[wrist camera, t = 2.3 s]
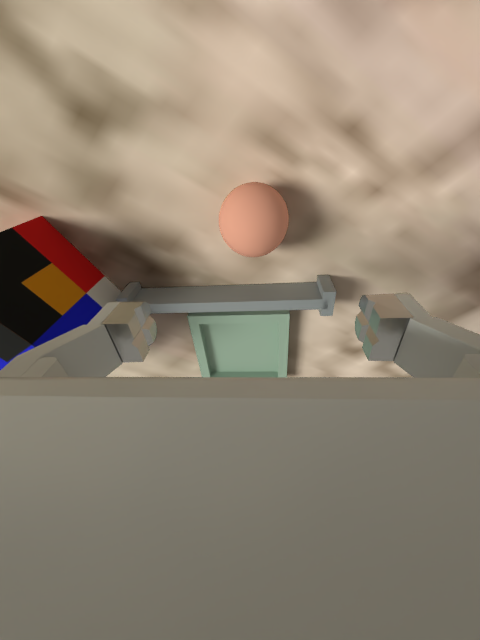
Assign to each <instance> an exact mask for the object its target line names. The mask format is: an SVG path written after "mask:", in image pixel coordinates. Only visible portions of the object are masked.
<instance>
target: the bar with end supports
mask: <svg viewBox="0 0 480 640" xmlns="http://www.w3.org/2000/svg"><path fill="white" fill-rule="evenodd" d="M335 297H336V290H335V288H334V285H333V283H332V281H331V279H330V277H329V275H317V282H306V283H278V284H250V285H222V286H194V287H166V288H141V285H140V282H130V283H129V284H128V285H127V286H126V287H125V289H124V290H123V291H122V292H121V293H120V294H119V296H118V297H117V298H116V300H117V302H143V301H146V302H147V303H149V305H150V308H151V310H152V311H151V313H150V314H153V313H193V312H232V311H272V310H311V309H319V312H320V316H332V315H333V309H334V303H335Z"/></svg>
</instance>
